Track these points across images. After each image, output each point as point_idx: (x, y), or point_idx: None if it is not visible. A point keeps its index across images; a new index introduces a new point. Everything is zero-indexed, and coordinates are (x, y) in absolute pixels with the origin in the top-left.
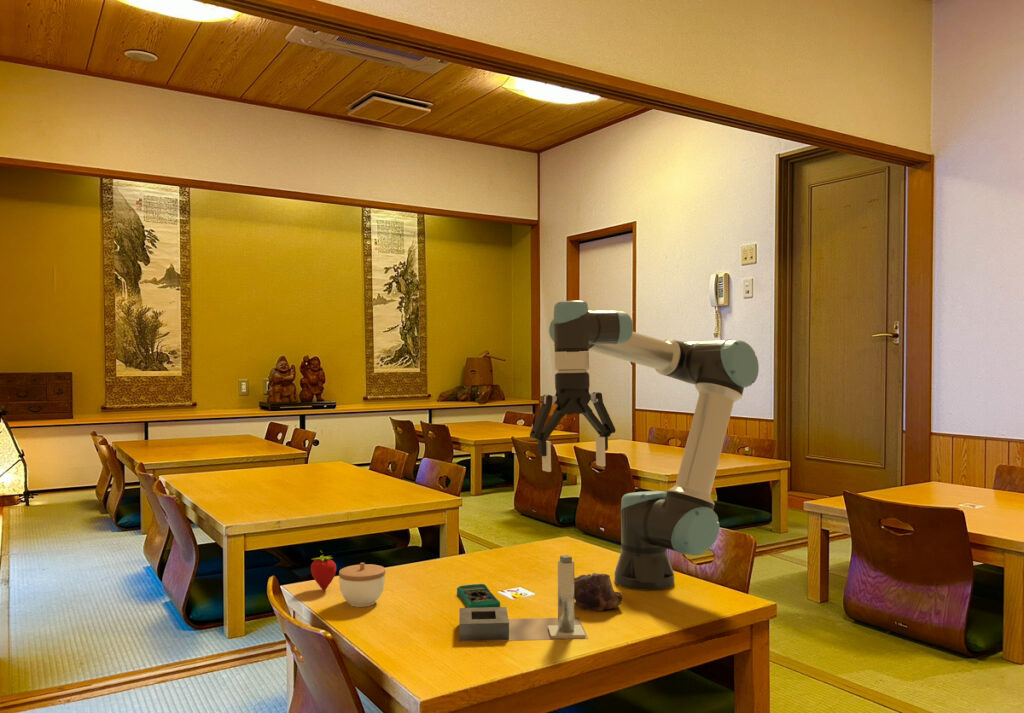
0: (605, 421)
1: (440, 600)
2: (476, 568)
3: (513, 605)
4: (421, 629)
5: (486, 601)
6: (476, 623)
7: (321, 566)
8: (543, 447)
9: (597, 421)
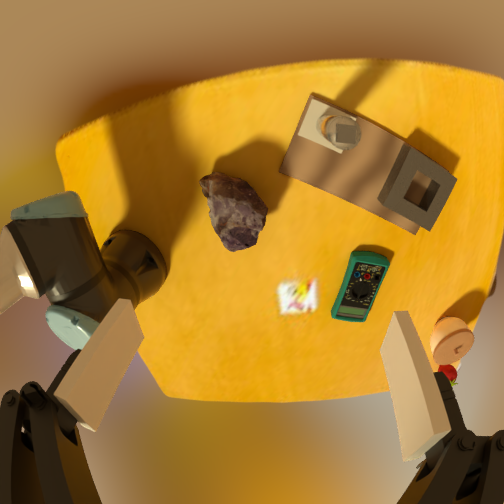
0: (19, 456)
1: (387, 308)
2: (292, 374)
3: (327, 259)
4: (452, 235)
5: (371, 261)
6: (442, 168)
7: (455, 374)
8: (447, 407)
9: (50, 484)
